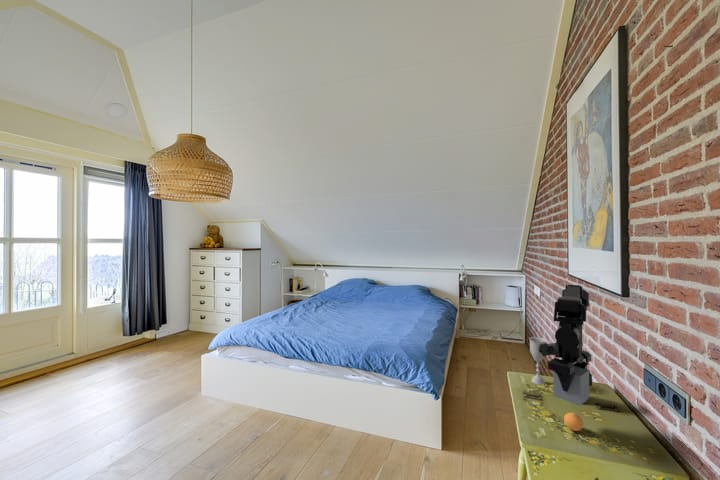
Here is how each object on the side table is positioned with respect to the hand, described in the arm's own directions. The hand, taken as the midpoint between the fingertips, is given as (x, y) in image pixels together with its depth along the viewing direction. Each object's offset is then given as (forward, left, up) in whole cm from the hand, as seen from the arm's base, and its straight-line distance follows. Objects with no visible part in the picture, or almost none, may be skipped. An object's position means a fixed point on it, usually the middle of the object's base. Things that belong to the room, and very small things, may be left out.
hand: (570, 387), depth 99 cm
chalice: (-26, -21, -13) cm, 36 cm away
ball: (0, +1, -10) cm, 11 cm away
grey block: (0, 0, -3) cm, 3 cm away
